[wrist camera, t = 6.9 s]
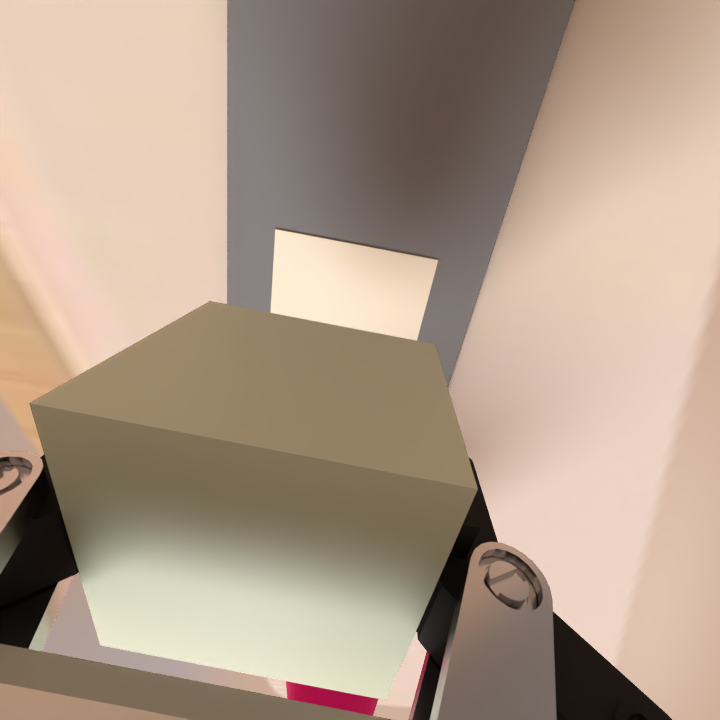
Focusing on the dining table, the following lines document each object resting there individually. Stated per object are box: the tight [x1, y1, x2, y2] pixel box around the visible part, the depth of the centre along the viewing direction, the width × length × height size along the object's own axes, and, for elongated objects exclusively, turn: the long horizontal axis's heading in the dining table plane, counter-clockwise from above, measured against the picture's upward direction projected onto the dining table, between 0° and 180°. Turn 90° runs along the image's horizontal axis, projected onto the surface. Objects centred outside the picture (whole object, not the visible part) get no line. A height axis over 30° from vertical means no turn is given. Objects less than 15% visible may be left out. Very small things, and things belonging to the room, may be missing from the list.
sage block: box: [29, 301, 478, 700], centre depth 8 cm, size 6×6×5 cm
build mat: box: [227, 0, 575, 387], centre depth 14 cm, size 28×12×1 cm, turn 170°
